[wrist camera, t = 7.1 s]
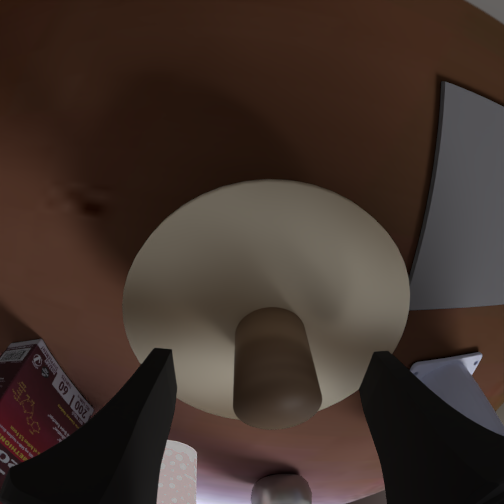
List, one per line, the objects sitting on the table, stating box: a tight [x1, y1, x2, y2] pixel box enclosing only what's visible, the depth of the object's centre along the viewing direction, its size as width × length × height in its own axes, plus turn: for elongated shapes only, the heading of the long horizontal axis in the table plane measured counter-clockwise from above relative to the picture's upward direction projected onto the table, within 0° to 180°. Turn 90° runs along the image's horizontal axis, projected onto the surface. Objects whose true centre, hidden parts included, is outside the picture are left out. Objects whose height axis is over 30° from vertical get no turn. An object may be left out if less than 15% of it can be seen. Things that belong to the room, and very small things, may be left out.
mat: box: [409, 81, 504, 310], centre depth 16 cm, size 14×14×1 cm
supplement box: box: [0, 339, 94, 504], centre depth 14 cm, size 9×5×16 cm, turn 15°
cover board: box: [122, 179, 410, 430], centre depth 11 cm, size 12×12×4 cm
